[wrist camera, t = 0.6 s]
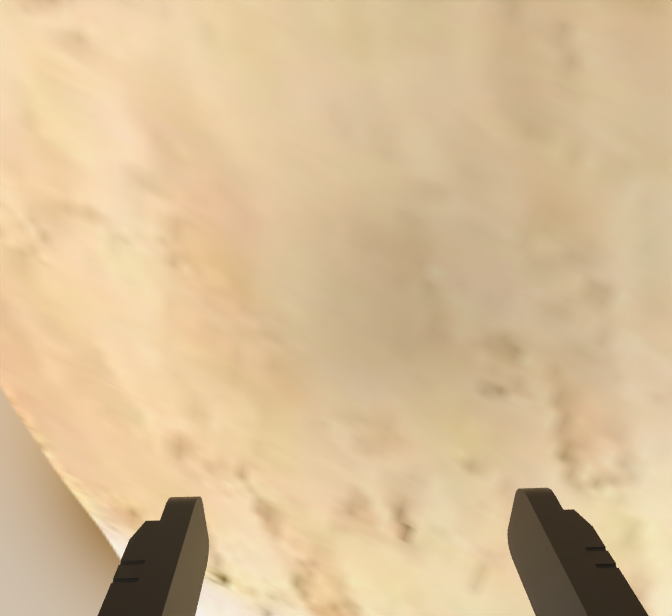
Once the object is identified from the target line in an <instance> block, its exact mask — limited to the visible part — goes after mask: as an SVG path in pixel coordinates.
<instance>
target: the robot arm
mask: <svg viewBox="0 0 672 616" xmlns="http://www.w3.org/2000/svg"><path fill="white" fill-rule="evenodd" d="M508 545H509V550H510V553H511V556H512V559H513V561H514V564H515V566H516V569H517V571H518V574H519V576H520V578H521V581H522V583H523V586H524V588H525V591H526V593H527V595H528V598H529V600H530V603H531V605H532V608H533V610H534V612H535V615H536V616H648V614H647V613H646V611H645V610H644V608H643V606H642V605H641V603H640V602H639V600H638V598H637V597H636V595H635V594H634V592H633V590H632V589H631V587H630V585H629V584H628V582H627V581H626V579H625V577H624V576H623V574H622V573H621V571H620V569H619V568H617V567H616V563H615V561H614V560H613V558H612V557H611V555H610V553H609V552H608V551H606V549H605V545H604V544H603V542H602V541H601V539H600V537H599V536H598V534H597V533H596V531H595V529H594V528H593V526H591V525H590V524H589V523H588V522H587V521H586V520H585V519H584V518H583V517H581V516H580V515H579V514H578V513H577V512H576V511H575V510H563V508H562V507H561V505H560V503H559V501H558V500H557V498H556V496H555V495H554V493H553V492H552V490H550V489H549V488H524V489H518V490H517V491H516V494H515V498H514V503H513V508H512V512H511V517H510V522H509V527H508ZM208 553H209V538H208V532H207V526H206V520H205V514H204V508H203V502H202V499H201V497H171V498H169V499H168V501H167V503H166V506H165V508H164V511H163V514H162V517H161V519H160V521H145V523H144V524H143V525H142V526H141V527H140V528H139V529H138V531H137V532H136V533H135V534H134V535H133V536H132V537H131V539H130V540H129V542H128V545H127V547H126V549H125V552H124V554H123V557H122V559H121V564H120V565H119V566H118V568H117V571H116V573H115V576H114V578H113V583H111V585H110V588H109V590H108V593H107V595H106V597H105V599H104V602H103V604H102V607H101V609H100V612H99V614H98V616H195V613H196V609H197V605H198V601H199V596H200V592H201V588H202V584H203V579H204V575H205V571H206V567H207V561H208Z"/></svg>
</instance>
